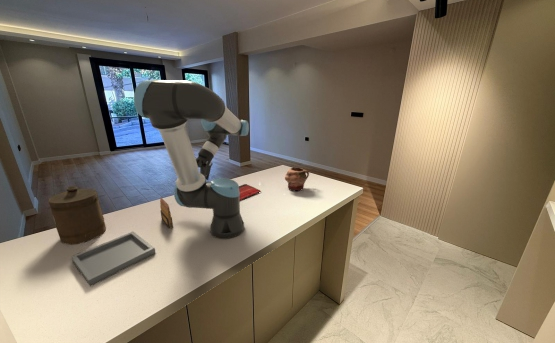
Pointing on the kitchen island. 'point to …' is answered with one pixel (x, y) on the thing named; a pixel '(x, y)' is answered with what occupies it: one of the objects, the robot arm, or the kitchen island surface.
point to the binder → (247, 191)
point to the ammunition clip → (166, 214)
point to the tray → (111, 257)
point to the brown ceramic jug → (296, 178)
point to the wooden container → (77, 215)
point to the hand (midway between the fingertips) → (184, 187)
